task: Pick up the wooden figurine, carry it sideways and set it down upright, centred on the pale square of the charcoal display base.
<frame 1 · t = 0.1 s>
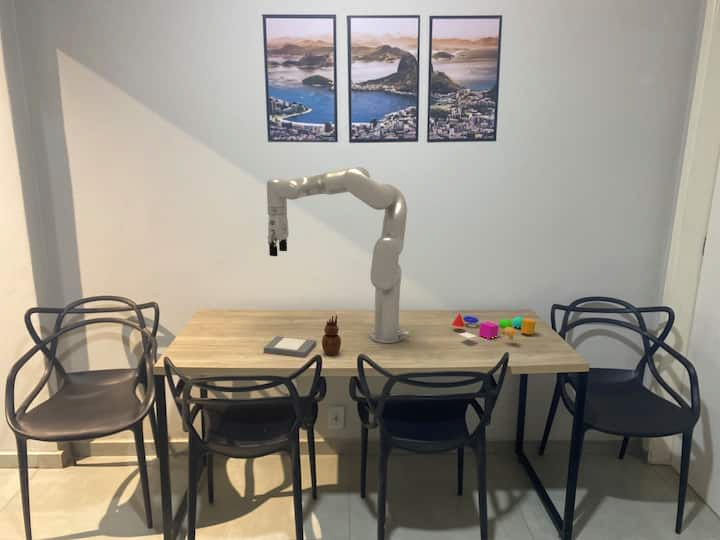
hand: (278, 253, 210), 31 cm above the table, tool pointing down, fingers open, 9 cm apart
wooden figurine: (331, 354, 191), on the table
display base: (290, 349, 195), on the table
shape set: (490, 335, 212), on the table
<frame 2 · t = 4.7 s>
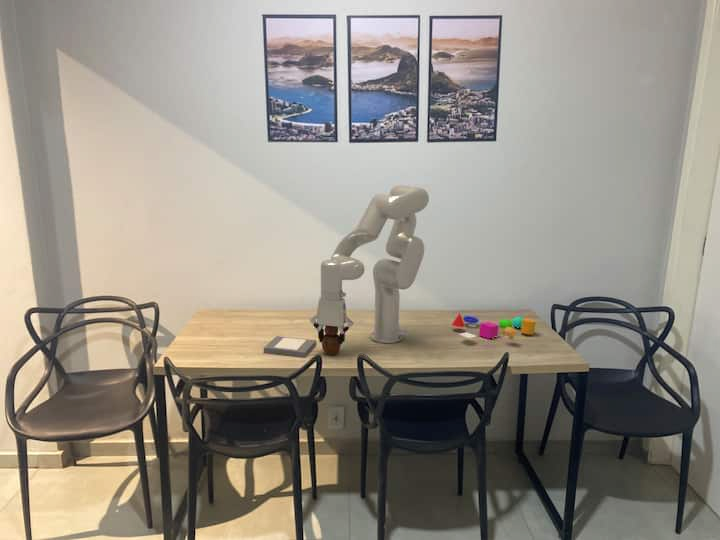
hand: (331, 341, 190), 5 cm above the table, tool pointing down, fingers closed on wooden figurine, 6 cm apart
wooden figurine: (331, 354, 191), on the table, touching gripper
everything else where it was.
when the fingers open (8 cm above the table, at t = 12.2 s): wooden figurine stays where it is, resting on display base.
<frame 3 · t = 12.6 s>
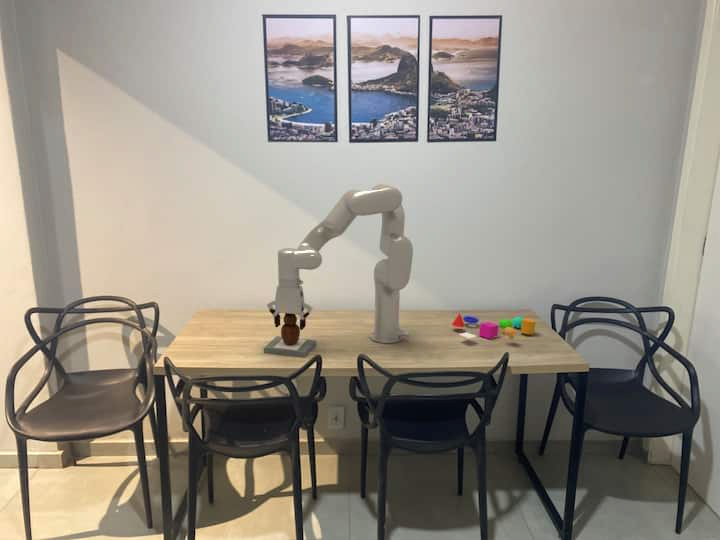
hand: (290, 327, 192), 9 cm above the table, tool pointing down, fingers open, 9 cm apart
wooden figurine: (290, 343, 194), point 2 cm above the table, touching display base
everything else where it was.
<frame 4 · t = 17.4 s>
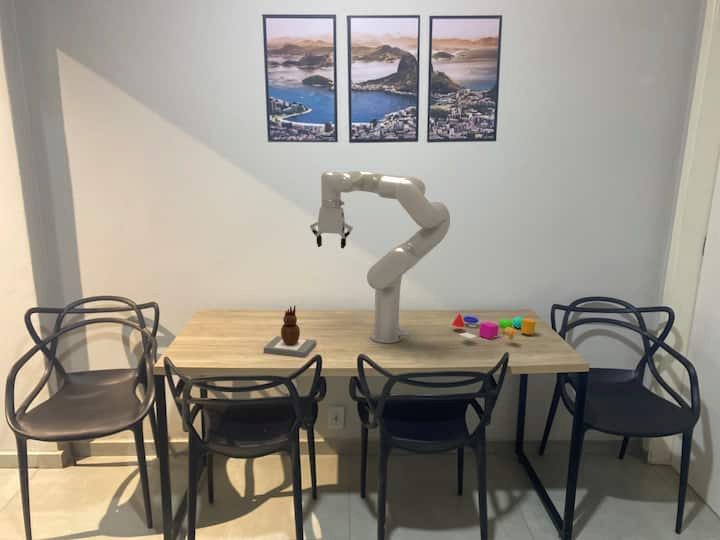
hand: (331, 247, 208), 34 cm above the table, tool pointing down, fingers open, 9 cm apart
nothing on the table moved.
at the end: wooden figurine 0.1 cm off-centre on the display base, point 2.0 cm above the display base's base; wooden figurine tilted 0°; the gripper is holding nothing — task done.
